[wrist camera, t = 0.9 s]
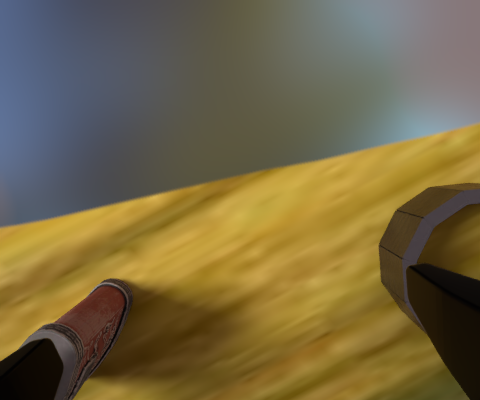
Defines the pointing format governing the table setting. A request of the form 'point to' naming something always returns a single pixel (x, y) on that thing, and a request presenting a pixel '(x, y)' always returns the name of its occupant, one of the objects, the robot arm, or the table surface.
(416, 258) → the cup bracket
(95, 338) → the lighter
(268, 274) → the table surface
